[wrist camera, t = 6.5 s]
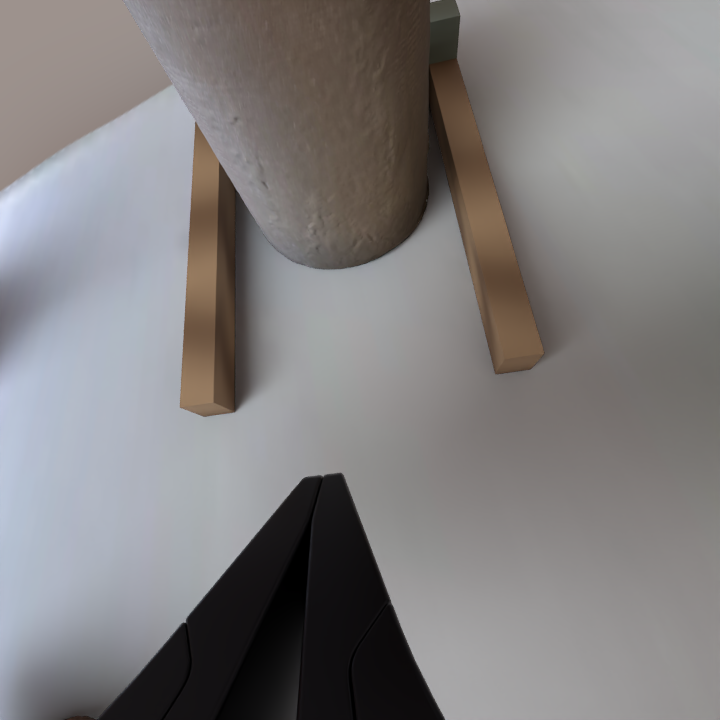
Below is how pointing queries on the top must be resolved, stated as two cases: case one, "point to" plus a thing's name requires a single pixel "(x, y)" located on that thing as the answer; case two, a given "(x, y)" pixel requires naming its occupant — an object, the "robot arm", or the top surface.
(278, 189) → the pillar candle
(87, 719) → the pottery mug
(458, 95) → the channel
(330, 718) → the robot arm
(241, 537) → the top surface
